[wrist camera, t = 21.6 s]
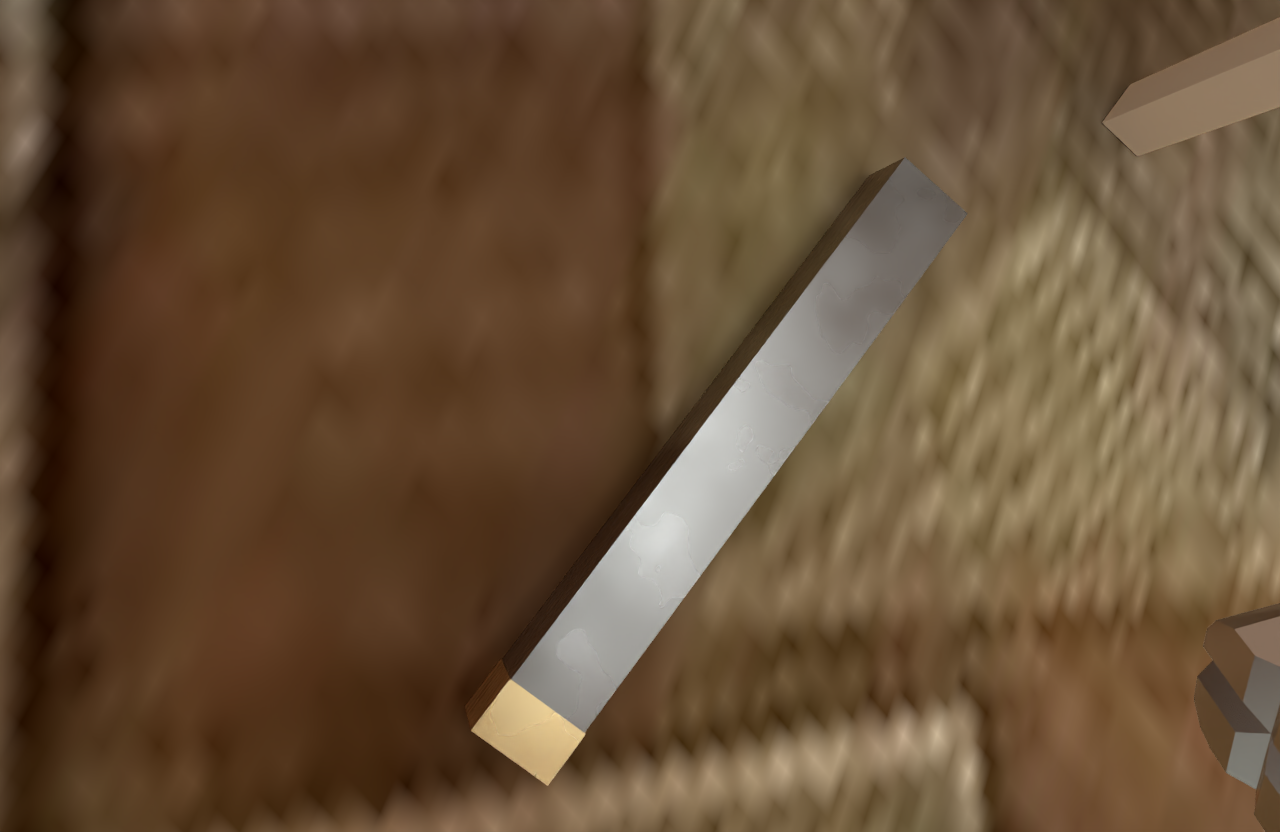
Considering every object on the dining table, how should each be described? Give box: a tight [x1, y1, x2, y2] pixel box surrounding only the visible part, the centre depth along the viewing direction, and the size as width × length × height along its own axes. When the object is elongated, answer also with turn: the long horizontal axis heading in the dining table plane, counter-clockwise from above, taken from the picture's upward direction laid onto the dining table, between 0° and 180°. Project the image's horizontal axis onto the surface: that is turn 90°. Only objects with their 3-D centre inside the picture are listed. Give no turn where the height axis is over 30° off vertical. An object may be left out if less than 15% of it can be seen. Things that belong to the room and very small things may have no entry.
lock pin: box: [465, 158, 967, 786], centre depth 39 cm, size 3×24×3 cm, turn 141°
